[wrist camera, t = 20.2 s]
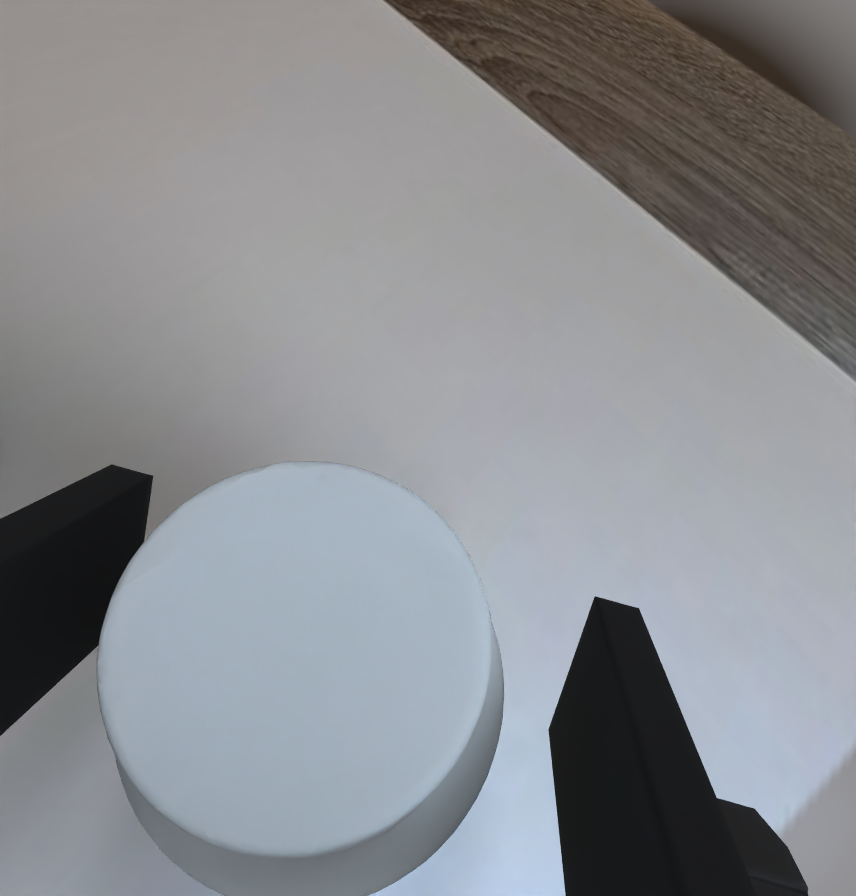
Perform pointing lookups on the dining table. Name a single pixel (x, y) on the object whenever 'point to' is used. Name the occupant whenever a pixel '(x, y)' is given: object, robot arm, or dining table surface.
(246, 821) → the supplement bottle
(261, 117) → the dining table surface
